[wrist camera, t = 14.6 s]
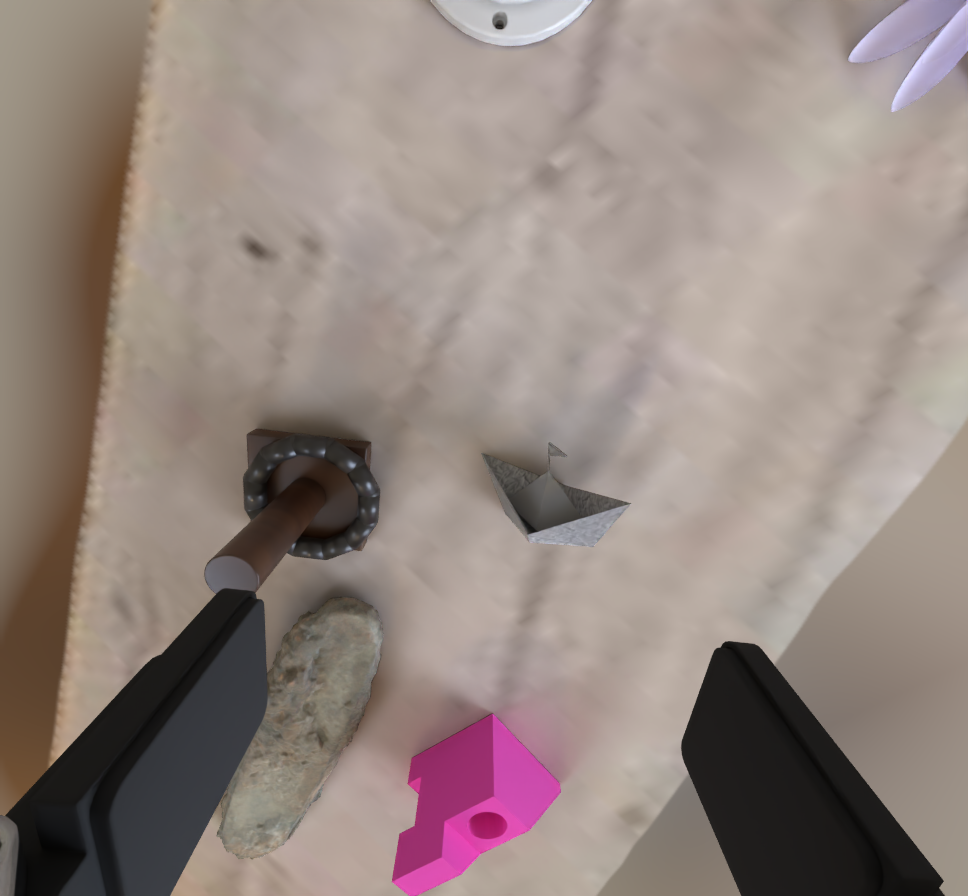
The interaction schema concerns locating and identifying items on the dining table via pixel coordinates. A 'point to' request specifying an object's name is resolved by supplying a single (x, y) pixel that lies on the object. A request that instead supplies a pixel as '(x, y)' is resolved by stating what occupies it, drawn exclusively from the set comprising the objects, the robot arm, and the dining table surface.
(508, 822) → the bracket
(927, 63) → the water lily
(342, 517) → the peg stand
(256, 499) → the hoop
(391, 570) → the dining table surface
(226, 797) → the long grey stone
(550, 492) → the paper boat
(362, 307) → the dining table surface
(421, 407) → the dining table surface
